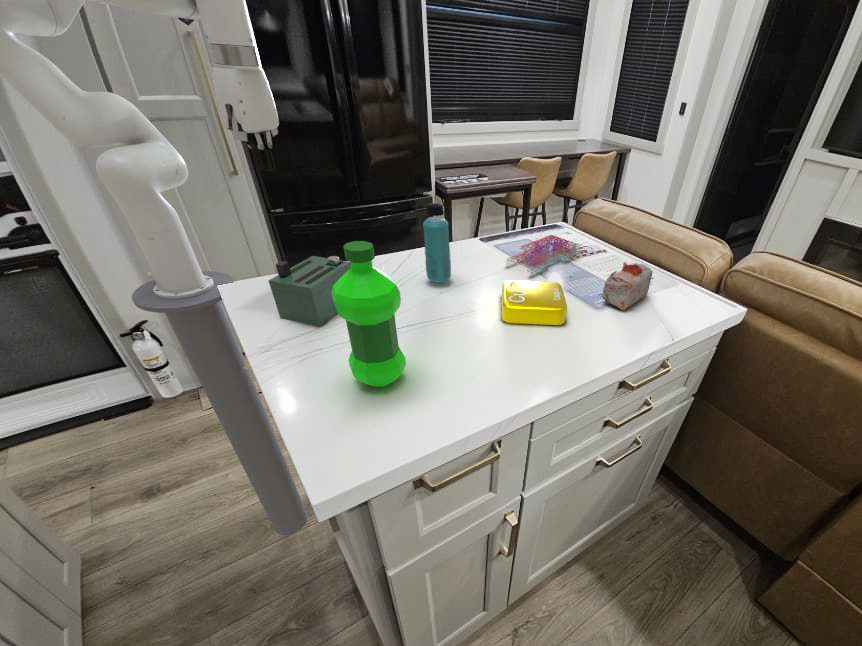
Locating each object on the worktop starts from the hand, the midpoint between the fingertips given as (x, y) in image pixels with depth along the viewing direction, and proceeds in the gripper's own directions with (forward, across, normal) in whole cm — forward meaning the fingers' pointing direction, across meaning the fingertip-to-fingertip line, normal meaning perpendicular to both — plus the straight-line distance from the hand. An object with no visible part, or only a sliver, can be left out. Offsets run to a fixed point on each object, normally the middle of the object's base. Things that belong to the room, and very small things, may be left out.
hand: (266, 169), depth 87 cm
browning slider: (+18, +10, +7) cm, 22 cm away
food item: (+27, -25, +79) cm, 87 cm away
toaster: (+27, +6, +10) cm, 30 cm away
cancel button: (+19, +1, +12) cm, 22 cm away
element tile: (+27, -11, +57) cm, 64 cm away
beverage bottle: (+27, -17, +30) cm, 44 cm away
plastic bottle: (+27, +26, +36) cm, 52 cm away
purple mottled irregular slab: (+27, -44, +53) cm, 75 cm away
